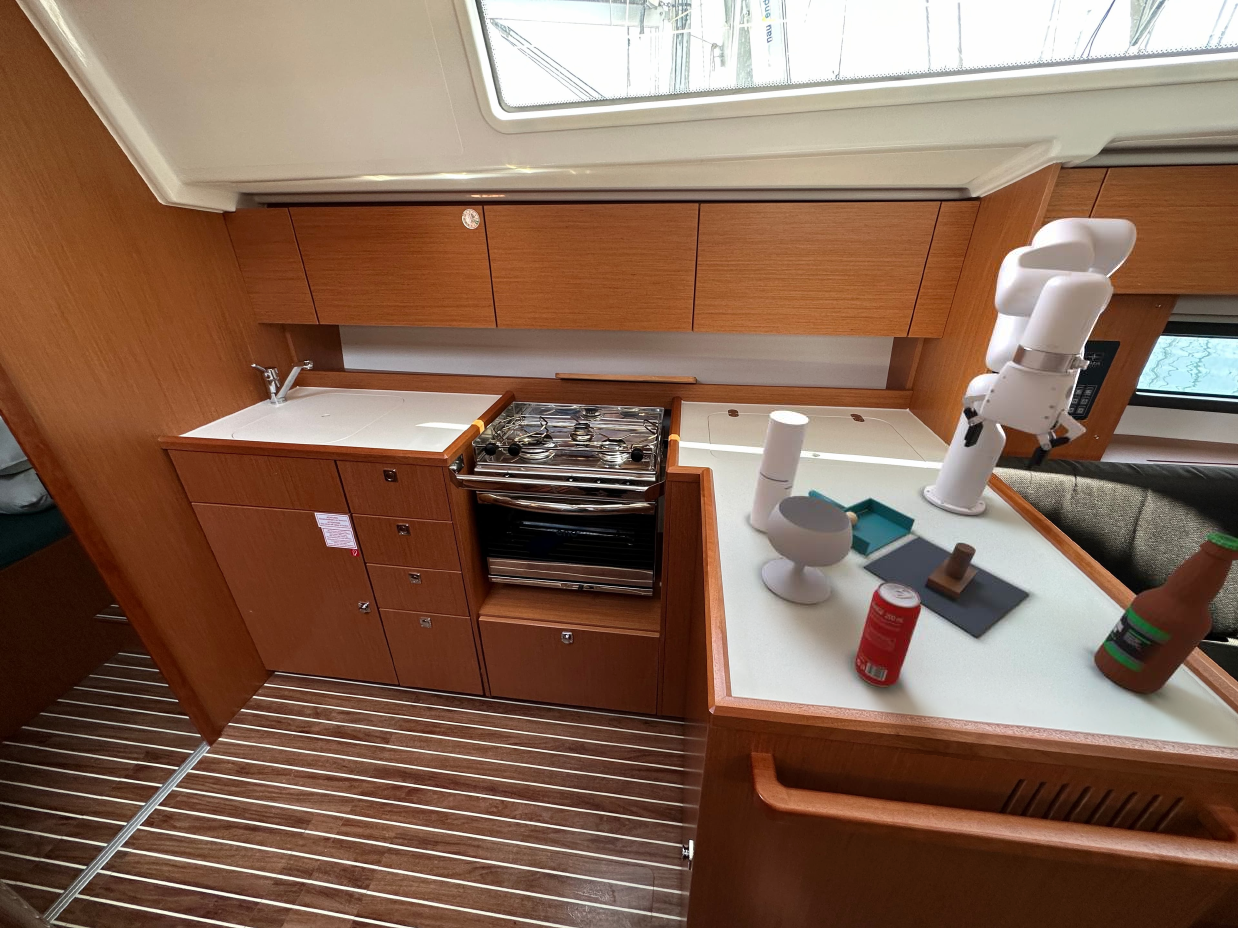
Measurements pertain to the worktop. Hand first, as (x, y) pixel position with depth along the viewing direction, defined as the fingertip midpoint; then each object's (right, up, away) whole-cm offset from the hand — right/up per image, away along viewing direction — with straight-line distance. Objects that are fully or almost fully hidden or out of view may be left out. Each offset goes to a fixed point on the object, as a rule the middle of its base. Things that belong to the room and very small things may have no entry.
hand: (999, 456), depth 82 cm
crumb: (-16, -13, +21) cm, 29 cm away
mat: (-6, -23, +6) cm, 25 cm away
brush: (-5, -24, +5) cm, 25 cm away
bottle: (+9, -33, -12) cm, 36 cm away
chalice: (-34, -23, +4) cm, 42 cm away
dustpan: (-16, -14, +23) cm, 31 cm away
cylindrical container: (-34, -15, +21) cm, 43 cm away
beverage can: (-29, -32, -13) cm, 45 cm away
